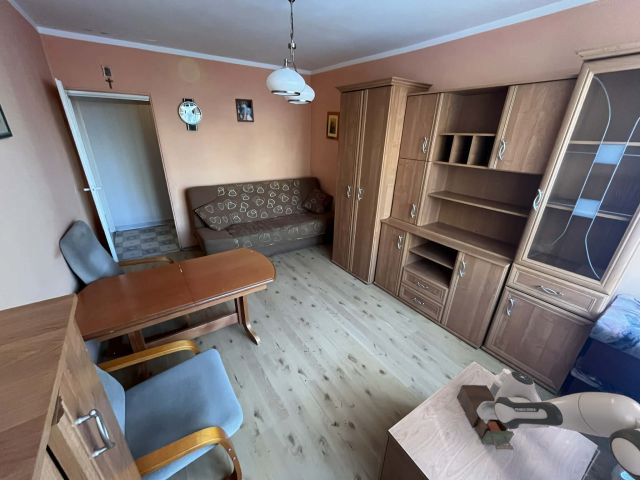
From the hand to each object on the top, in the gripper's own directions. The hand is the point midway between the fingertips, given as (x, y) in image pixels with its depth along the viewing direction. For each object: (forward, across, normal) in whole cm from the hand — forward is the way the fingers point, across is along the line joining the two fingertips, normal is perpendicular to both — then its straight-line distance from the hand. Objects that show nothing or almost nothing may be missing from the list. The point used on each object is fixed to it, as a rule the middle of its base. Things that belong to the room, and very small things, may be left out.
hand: (496, 422), depth 116 cm
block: (+8, 0, 0) cm, 8 cm away
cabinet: (+10, 0, +10) cm, 14 cm away
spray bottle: (+10, +15, +19) cm, 26 cm away
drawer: (+9, 0, 0) cm, 9 cm away
